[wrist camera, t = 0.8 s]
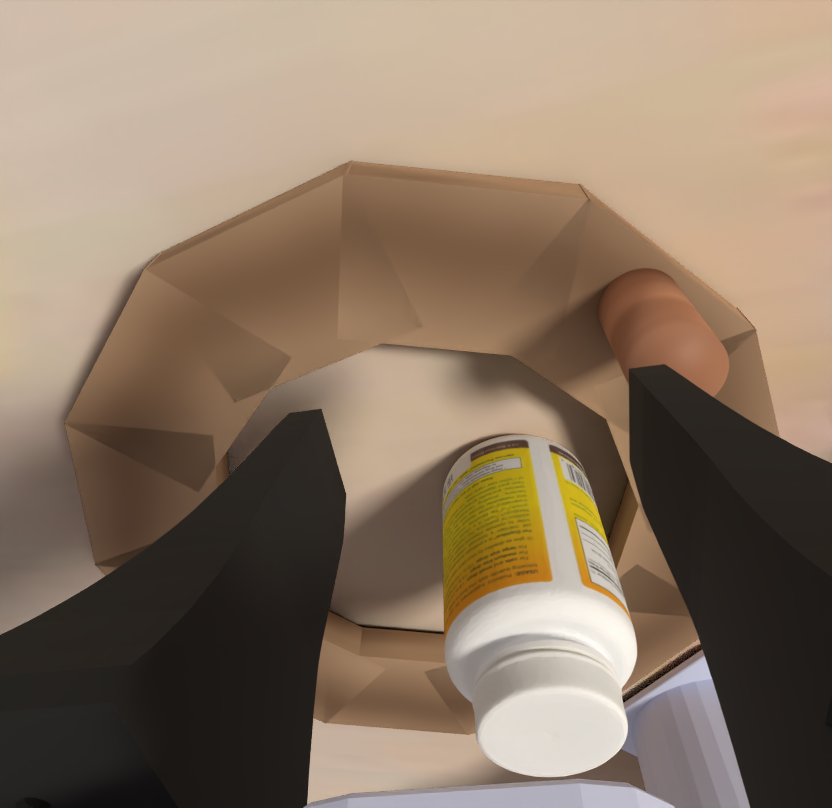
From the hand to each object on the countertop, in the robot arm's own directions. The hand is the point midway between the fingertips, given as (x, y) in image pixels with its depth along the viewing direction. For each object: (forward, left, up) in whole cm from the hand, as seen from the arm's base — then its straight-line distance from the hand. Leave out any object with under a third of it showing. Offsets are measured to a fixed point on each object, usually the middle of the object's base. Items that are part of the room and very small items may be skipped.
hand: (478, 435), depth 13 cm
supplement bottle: (-8, +6, -11) cm, 15 cm away
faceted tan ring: (-5, +9, -10) cm, 15 cm away
